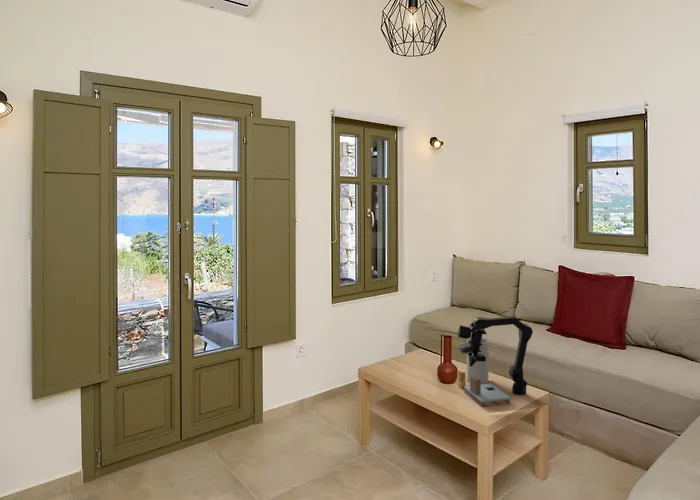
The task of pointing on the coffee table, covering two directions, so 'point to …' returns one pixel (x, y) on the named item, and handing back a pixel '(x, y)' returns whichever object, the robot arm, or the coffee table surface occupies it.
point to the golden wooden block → (461, 378)
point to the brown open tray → (489, 403)
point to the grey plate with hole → (485, 391)
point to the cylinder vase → (480, 364)
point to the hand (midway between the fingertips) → (470, 366)
